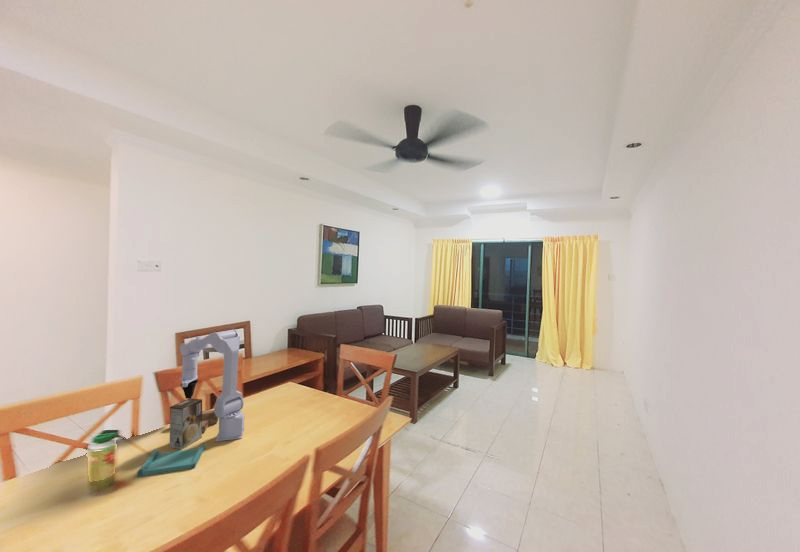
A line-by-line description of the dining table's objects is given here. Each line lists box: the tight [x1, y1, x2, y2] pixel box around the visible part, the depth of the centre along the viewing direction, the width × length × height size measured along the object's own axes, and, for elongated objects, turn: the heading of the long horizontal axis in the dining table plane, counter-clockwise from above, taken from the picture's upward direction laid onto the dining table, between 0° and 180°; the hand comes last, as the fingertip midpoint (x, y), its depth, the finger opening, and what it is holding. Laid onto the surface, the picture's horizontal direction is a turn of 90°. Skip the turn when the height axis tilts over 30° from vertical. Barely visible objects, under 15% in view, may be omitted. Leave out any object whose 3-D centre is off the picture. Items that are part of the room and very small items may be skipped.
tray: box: [137, 443, 206, 477], centre depth 111 cm, size 16×13×2 cm
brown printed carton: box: [202, 409, 219, 433], centre depth 134 cm, size 16×10×5 cm, turn 109°
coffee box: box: [169, 397, 203, 450], centre depth 123 cm, size 9×6×16 cm
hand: (189, 397), depth 141 cm, fingers closed
